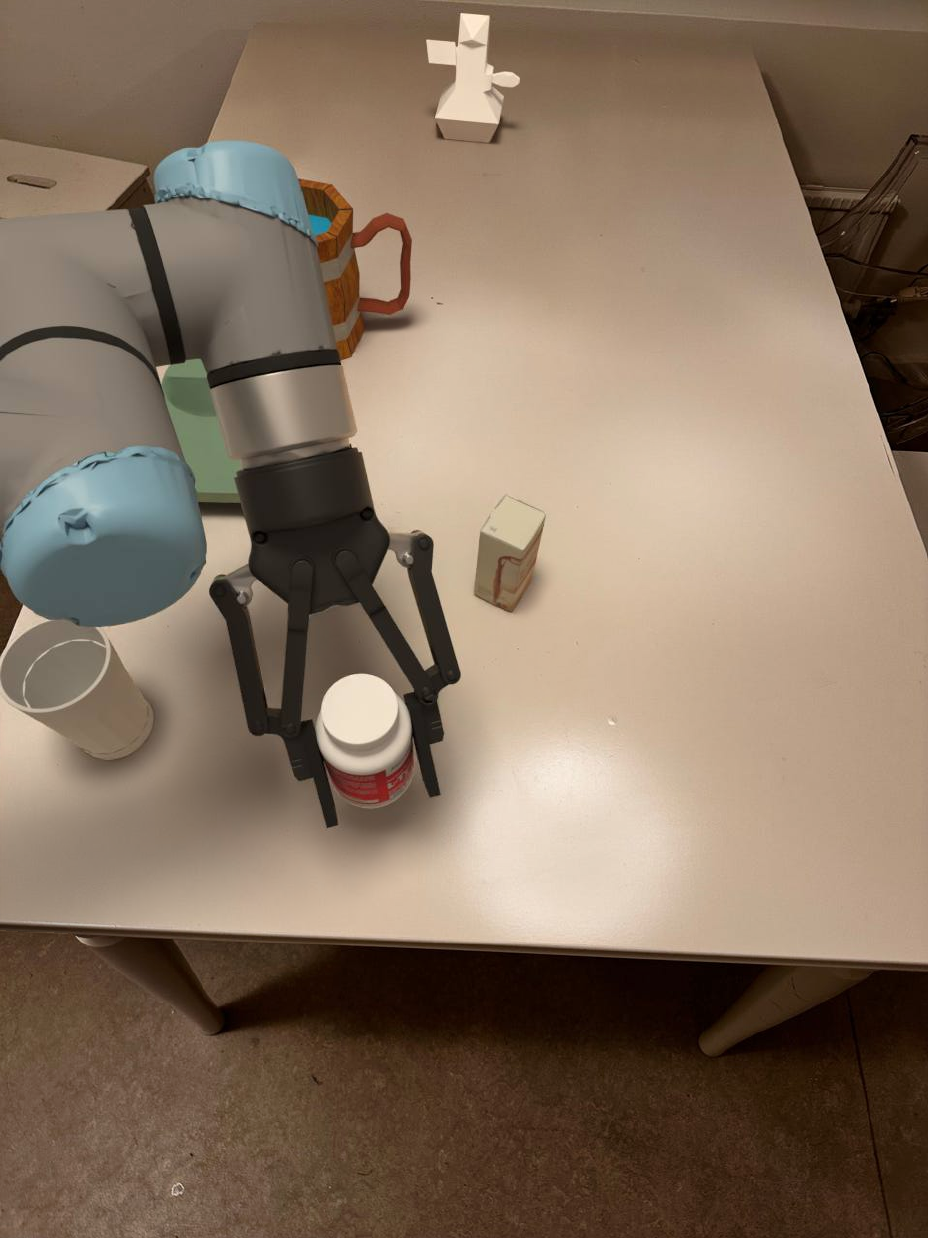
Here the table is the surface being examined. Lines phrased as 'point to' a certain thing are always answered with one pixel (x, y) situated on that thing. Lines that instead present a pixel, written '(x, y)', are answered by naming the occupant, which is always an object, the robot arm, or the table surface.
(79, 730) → the cup
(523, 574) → the small juice carton
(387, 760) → the pill bottle
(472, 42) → the white low-poly figurine
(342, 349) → the mug
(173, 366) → the green rounded-end slab
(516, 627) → the table surface
